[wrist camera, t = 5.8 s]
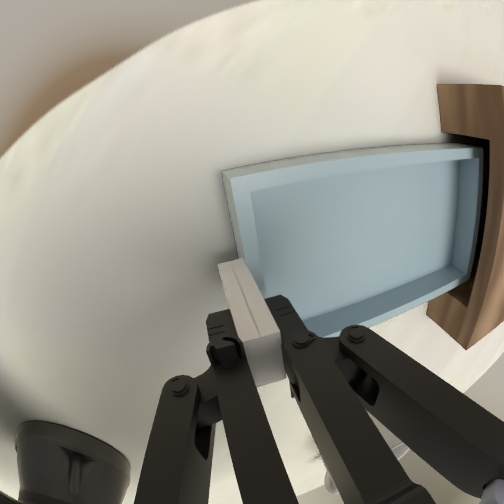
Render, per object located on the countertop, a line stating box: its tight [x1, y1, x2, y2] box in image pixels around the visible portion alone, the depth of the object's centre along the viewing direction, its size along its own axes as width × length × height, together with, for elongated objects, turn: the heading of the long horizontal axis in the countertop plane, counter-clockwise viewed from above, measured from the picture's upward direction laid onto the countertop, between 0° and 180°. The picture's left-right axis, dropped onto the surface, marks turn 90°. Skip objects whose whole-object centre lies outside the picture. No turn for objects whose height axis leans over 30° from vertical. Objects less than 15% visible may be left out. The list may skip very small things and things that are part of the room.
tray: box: [222, 143, 483, 337], centre depth 18 cm, size 20×12×3 cm, turn 100°
